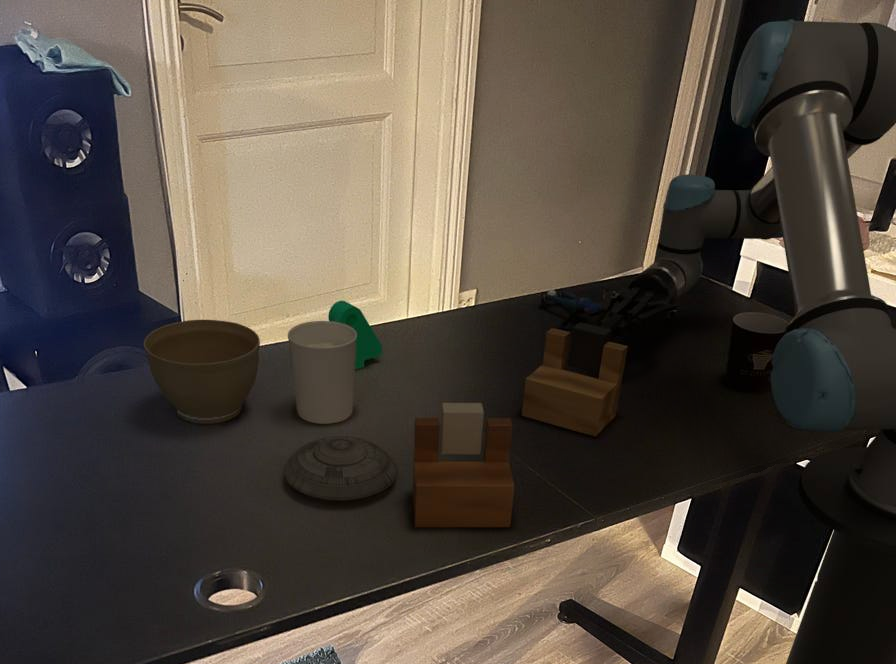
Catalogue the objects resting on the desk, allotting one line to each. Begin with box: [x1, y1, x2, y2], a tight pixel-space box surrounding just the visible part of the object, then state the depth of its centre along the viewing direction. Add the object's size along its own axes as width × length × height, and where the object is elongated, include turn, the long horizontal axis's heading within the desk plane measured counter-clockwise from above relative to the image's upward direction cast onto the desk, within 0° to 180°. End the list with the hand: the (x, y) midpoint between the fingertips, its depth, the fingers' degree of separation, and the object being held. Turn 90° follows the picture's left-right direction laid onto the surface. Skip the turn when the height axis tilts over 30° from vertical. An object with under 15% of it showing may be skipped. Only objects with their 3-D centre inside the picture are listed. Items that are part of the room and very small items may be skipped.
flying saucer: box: [283, 435, 398, 502], centre depth 128 cm, size 15×15×6 cm
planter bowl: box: [143, 319, 261, 425], centre depth 141 cm, size 16×16×11 cm
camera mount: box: [327, 300, 383, 370], centre depth 156 cm, size 12×8×10 cm, turn 128°
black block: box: [567, 321, 611, 374], centre depth 144 cm, size 3×5×6 cm, turn 60°
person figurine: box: [540, 289, 613, 330], centre depth 175 cm, size 11×4×18 cm
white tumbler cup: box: [287, 320, 357, 425], centre depth 141 cm, size 10×10×12 cm
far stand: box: [521, 327, 629, 437], centre depth 143 cm, size 8×12×11 cm, turn 60°
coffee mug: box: [724, 311, 789, 393], centre depth 154 cm, size 12×9×10 cm
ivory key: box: [439, 402, 485, 455], centre depth 122 cm, size 3×5×6 cm, turn 93°
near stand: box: [411, 417, 516, 528], centre depth 121 cm, size 8×12×11 cm, turn 93°
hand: (602, 336), depth 147 cm, fingers closed
